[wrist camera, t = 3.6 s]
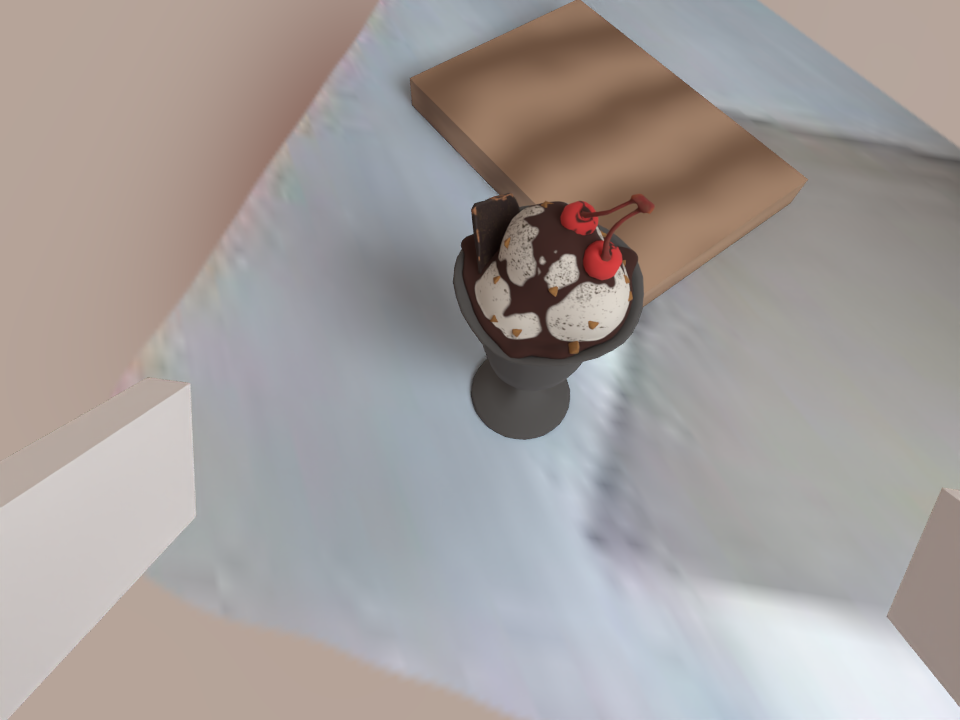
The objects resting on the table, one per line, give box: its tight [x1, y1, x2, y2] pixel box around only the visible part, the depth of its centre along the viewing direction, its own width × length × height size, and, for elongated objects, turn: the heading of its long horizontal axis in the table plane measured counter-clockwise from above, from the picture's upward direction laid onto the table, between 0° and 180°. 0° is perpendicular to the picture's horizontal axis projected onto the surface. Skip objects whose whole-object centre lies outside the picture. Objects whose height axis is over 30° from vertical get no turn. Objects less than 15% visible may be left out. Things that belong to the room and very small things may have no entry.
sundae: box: [453, 193, 655, 440], centre depth 23 cm, size 7×7×15 cm
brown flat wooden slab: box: [410, 0, 808, 307], centre depth 36 cm, size 20×14×2 cm
